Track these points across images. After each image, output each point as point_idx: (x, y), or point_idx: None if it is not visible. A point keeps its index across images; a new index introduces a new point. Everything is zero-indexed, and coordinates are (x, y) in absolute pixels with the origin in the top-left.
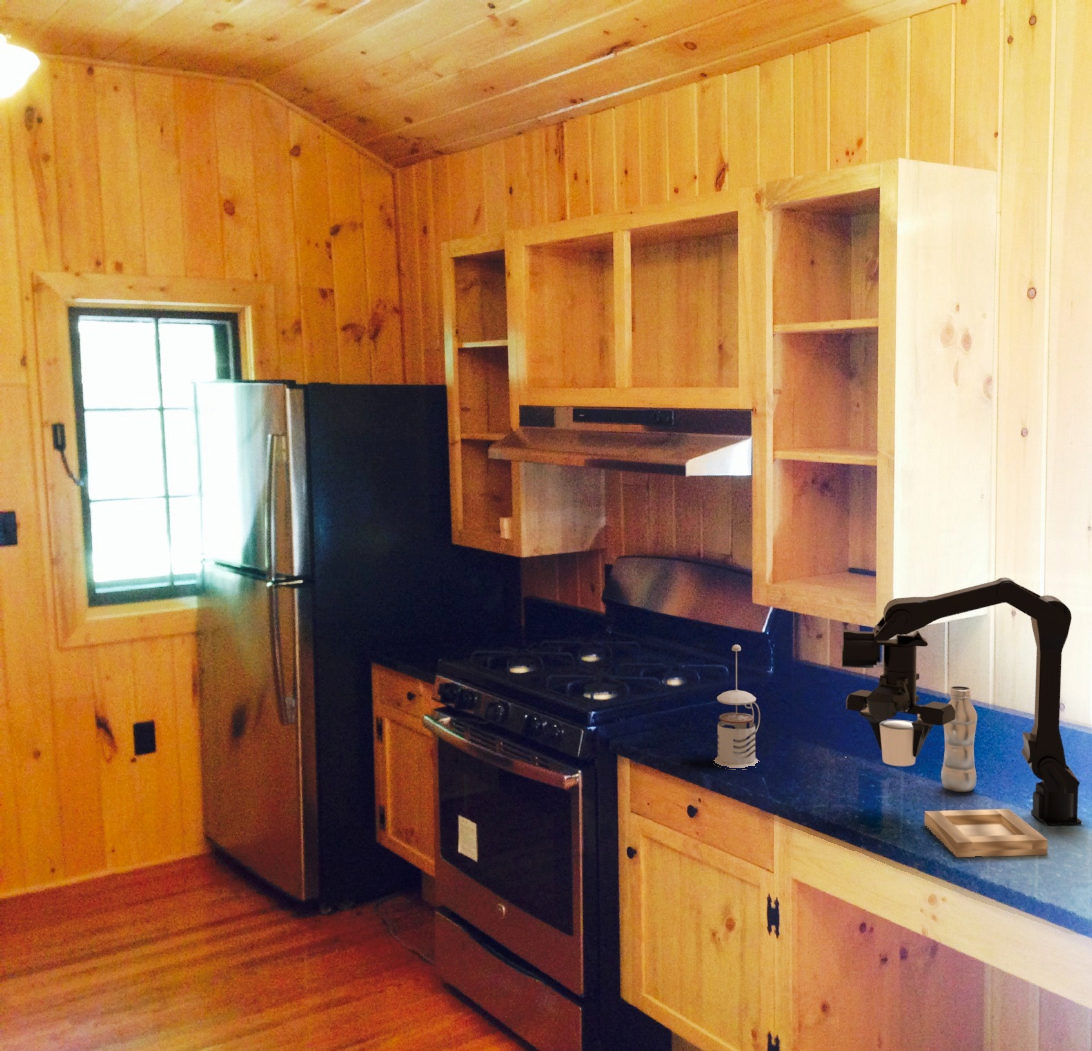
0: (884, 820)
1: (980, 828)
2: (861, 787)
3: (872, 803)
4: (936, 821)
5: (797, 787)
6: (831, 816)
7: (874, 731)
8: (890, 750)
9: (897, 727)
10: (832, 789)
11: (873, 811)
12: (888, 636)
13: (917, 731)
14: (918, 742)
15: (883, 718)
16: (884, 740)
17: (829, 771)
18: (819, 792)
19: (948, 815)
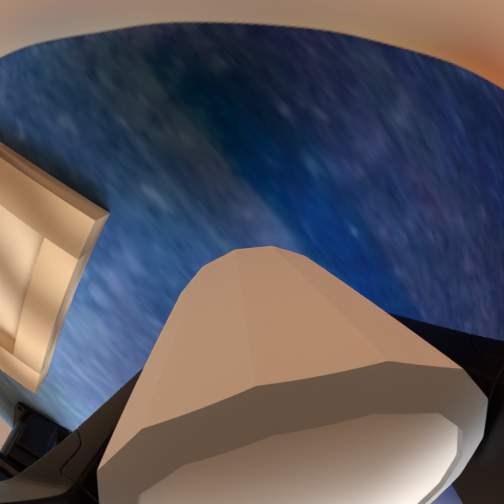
0: (205, 146)
1: (6, 279)
2: (409, 310)
3: (325, 238)
4: (26, 179)
5: (491, 188)
6: (325, 58)
7: (473, 339)
8: (254, 271)
9: (246, 474)
10: (446, 241)
11: (279, 183)
12: None
13: (45, 481)
14: (85, 422)
15: (479, 474)
16: (336, 292)
17: (486, 323)
18: (454, 197)
19: (41, 249)
